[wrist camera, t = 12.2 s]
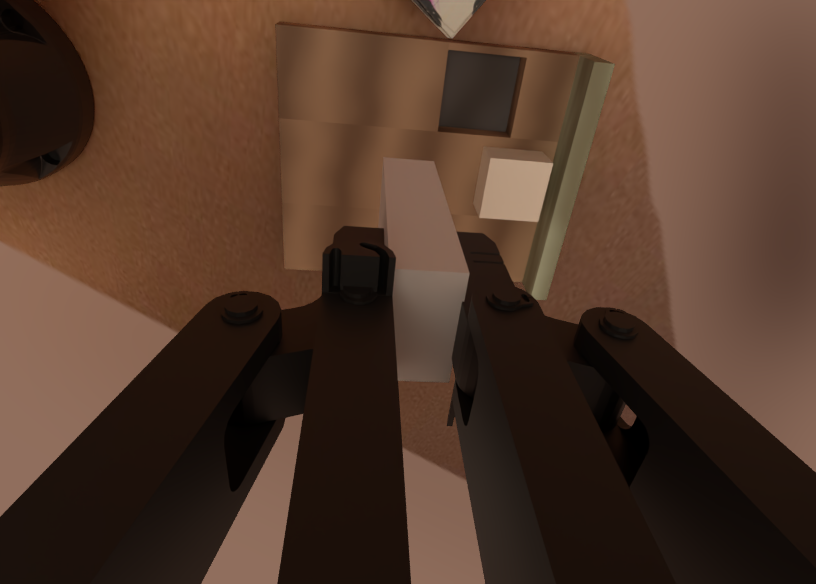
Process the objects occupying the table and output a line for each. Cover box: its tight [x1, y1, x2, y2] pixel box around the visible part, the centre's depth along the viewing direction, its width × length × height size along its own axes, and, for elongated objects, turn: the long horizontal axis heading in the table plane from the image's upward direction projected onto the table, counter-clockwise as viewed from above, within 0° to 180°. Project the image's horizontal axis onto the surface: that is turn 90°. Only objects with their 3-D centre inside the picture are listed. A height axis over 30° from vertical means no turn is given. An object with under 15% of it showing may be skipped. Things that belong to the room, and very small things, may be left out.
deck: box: [275, 22, 615, 300], centre depth 42 cm, size 24×20×5 cm
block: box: [473, 147, 553, 222], centre depth 42 cm, size 5×5×3 cm
